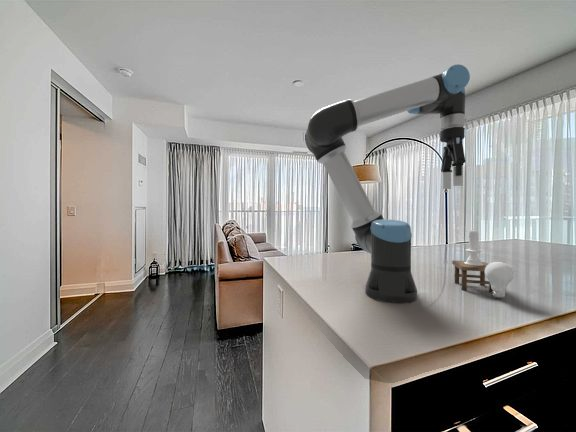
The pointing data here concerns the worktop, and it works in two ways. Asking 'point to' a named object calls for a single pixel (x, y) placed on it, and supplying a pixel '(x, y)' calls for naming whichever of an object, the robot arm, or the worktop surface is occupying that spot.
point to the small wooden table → (465, 268)
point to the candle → (473, 249)
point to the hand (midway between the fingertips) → (451, 187)
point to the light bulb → (499, 277)
